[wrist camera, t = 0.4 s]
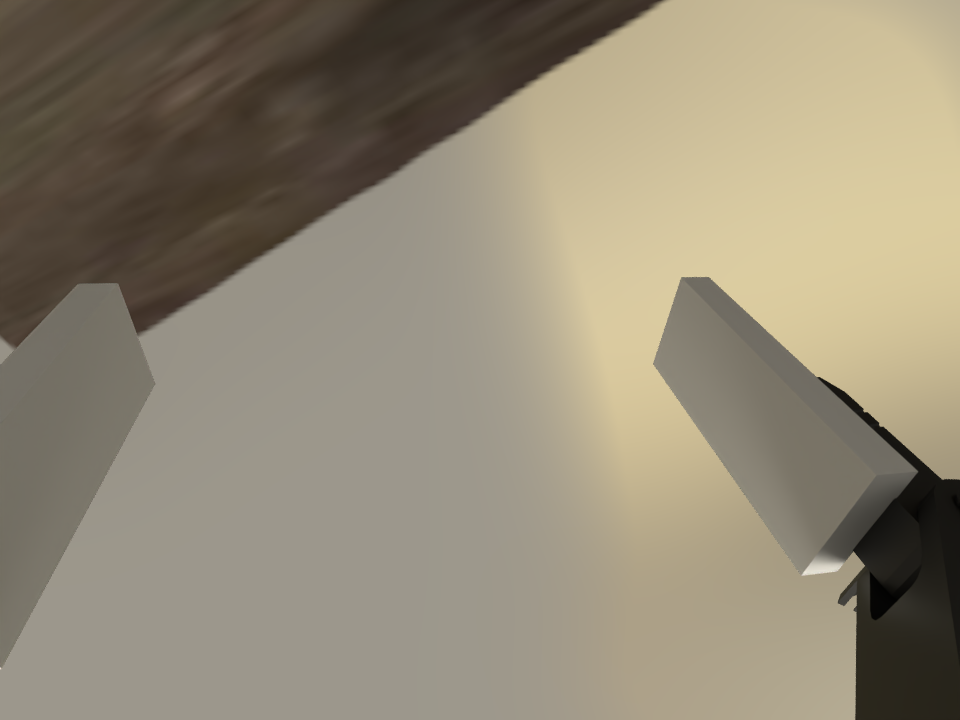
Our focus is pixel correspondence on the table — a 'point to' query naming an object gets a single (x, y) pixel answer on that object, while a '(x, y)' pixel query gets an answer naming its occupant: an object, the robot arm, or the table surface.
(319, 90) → the table surface
